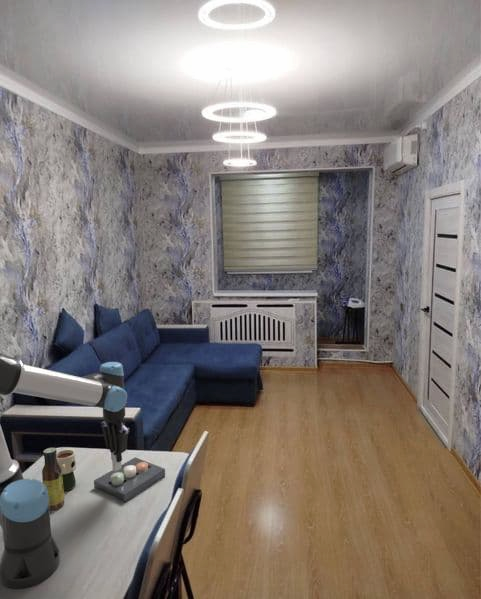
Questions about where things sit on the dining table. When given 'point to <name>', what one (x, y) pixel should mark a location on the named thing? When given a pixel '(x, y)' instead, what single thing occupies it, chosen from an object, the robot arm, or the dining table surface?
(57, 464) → the sauce bottle
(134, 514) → the dining table surface
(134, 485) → the panel
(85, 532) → the dining table surface
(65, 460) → the character mug
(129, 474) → the cream button
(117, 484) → the sage button
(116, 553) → the dining table surface
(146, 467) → the terracotta button
